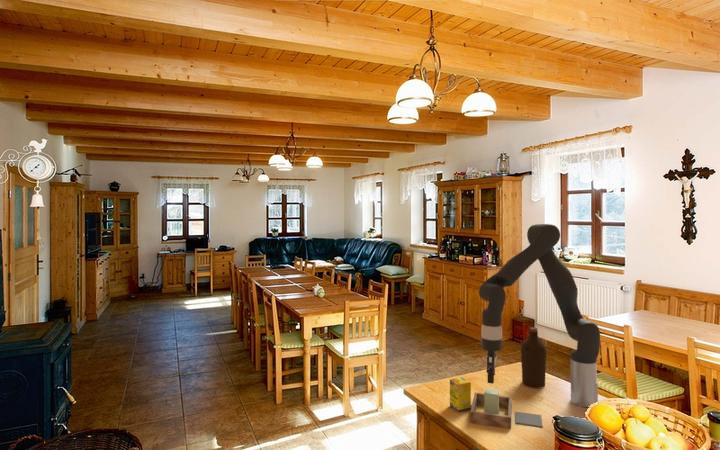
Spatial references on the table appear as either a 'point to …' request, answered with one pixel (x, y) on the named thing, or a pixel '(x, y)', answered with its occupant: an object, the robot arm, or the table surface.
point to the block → (491, 401)
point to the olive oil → (533, 360)
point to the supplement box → (460, 394)
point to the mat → (528, 419)
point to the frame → (488, 417)
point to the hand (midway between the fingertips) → (491, 378)
